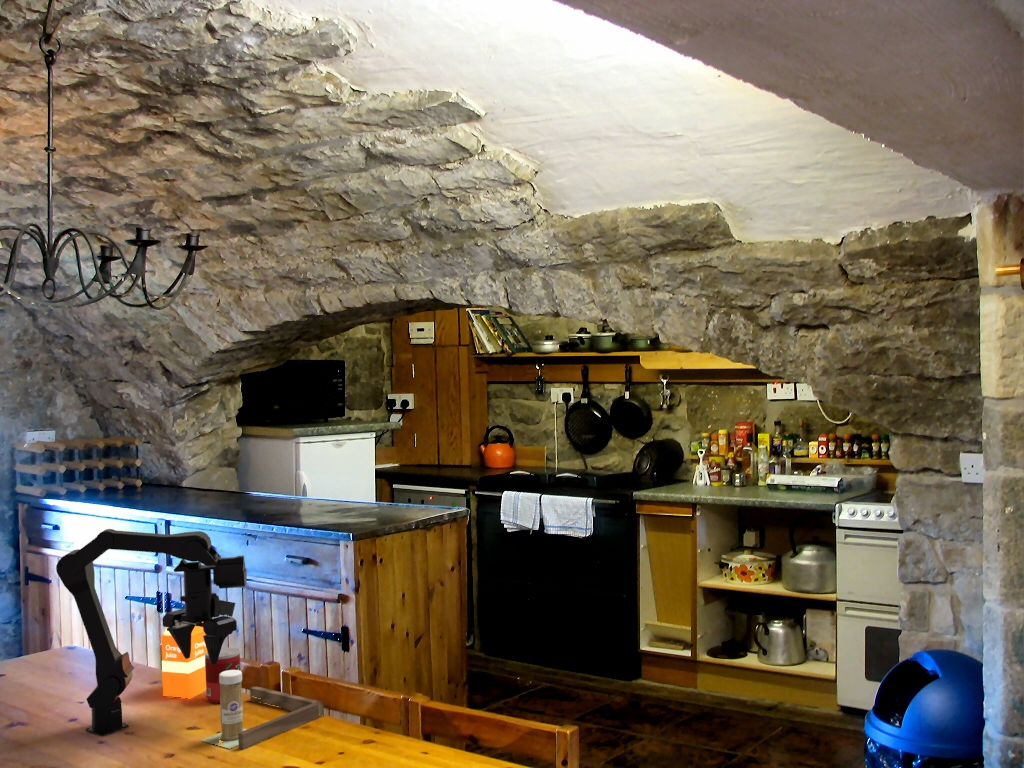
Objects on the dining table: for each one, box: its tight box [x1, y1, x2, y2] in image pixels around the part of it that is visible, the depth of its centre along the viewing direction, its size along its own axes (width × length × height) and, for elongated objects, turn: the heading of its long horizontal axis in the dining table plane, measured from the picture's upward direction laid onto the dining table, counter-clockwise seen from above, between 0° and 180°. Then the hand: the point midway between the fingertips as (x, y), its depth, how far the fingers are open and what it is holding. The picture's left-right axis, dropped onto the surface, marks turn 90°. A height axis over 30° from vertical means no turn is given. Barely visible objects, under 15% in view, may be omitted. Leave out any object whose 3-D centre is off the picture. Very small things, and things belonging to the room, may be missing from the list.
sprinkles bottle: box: [219, 669, 244, 740], centre depth 198 cm, size 5×5×14 cm
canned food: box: [205, 647, 241, 704], centre depth 223 cm, size 8×8×11 cm
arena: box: [200, 686, 325, 750], centre depth 206 cm, size 22×24×3 cm
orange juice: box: [160, 622, 207, 700], centre depth 229 cm, size 8×9×20 cm
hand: (200, 661), depth 208 cm, fingers open, 9 cm apart
